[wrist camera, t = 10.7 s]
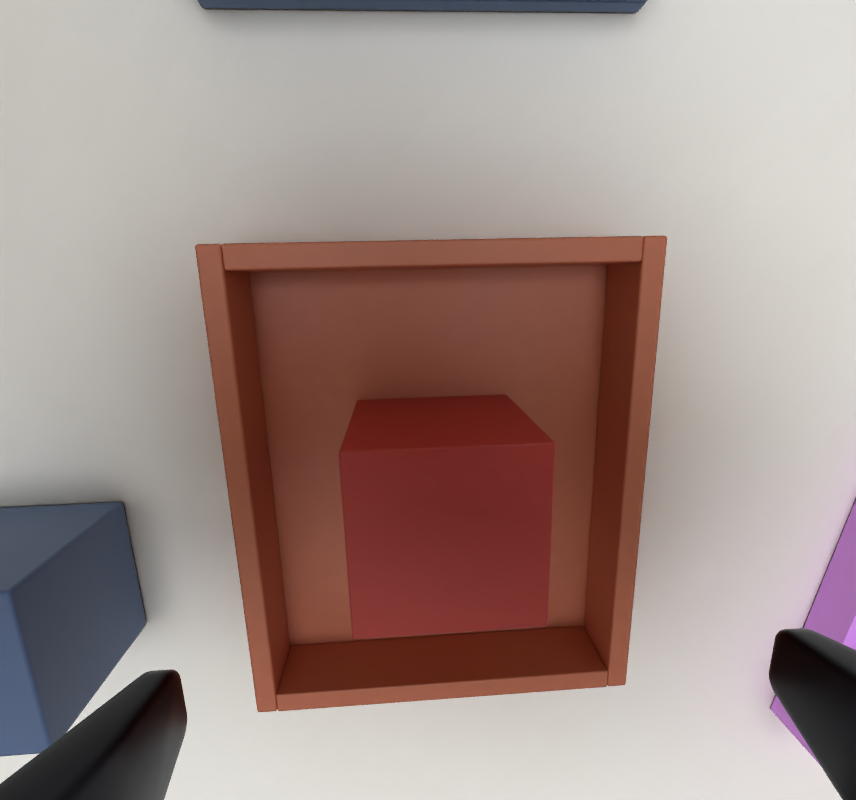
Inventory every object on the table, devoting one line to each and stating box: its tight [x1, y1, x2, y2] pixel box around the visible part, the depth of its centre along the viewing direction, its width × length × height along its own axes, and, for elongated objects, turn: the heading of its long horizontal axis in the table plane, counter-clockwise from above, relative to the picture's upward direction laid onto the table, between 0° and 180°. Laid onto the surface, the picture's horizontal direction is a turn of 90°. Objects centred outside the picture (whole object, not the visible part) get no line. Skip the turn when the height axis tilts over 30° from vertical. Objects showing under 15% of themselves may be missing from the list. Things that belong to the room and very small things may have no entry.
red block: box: [339, 394, 555, 639], centre depth 12 cm, size 4×4×4 cm
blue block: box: [0, 502, 146, 756], centre depth 13 cm, size 4×4×4 cm
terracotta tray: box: [195, 236, 667, 712], centre depth 14 cm, size 11×13×2 cm
